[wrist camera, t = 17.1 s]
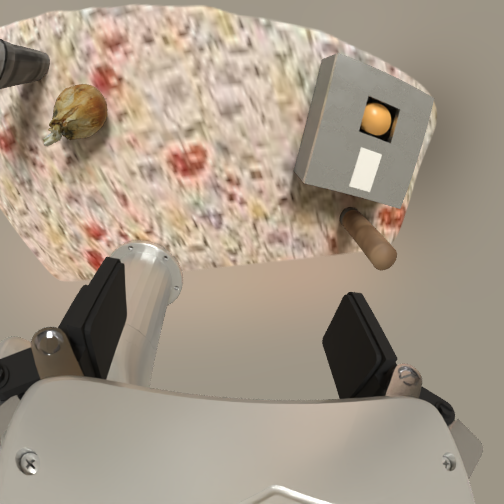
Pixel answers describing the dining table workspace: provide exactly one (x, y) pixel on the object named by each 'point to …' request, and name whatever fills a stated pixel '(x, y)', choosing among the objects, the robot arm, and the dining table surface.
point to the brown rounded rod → (368, 239)
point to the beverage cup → (21, 64)
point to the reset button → (375, 119)
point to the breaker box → (362, 132)
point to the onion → (77, 114)
